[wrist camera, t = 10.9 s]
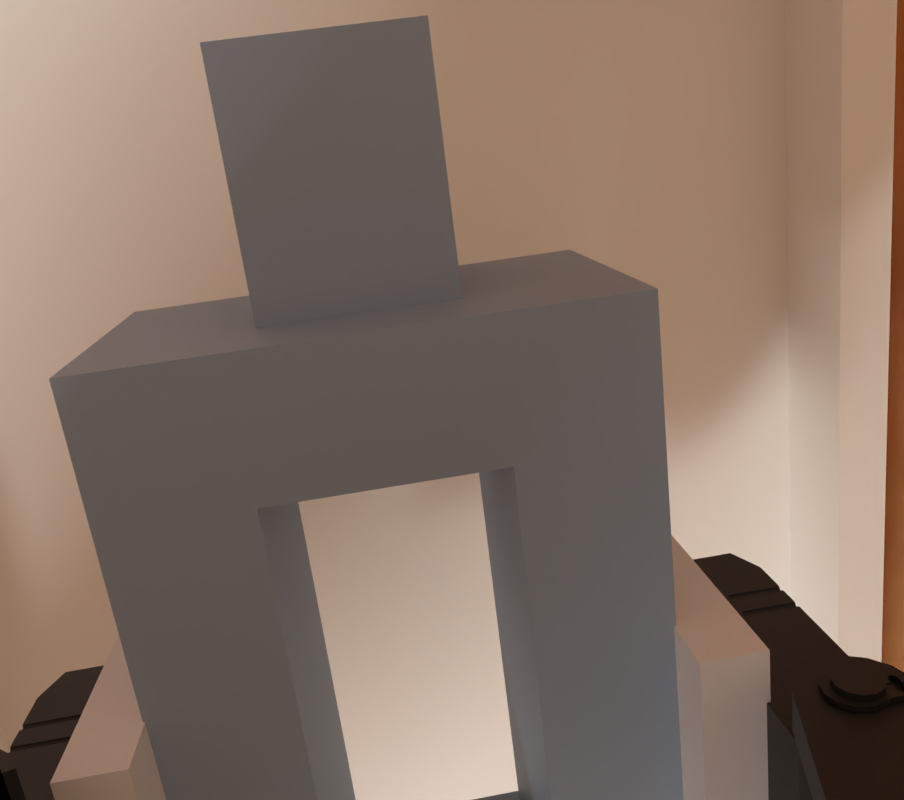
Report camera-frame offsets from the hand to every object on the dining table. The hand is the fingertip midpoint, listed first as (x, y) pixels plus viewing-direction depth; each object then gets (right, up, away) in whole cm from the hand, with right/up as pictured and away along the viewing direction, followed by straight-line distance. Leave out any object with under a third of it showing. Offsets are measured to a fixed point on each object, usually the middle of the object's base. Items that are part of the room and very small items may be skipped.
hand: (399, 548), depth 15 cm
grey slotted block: (0, +1, -3) cm, 3 cm away
